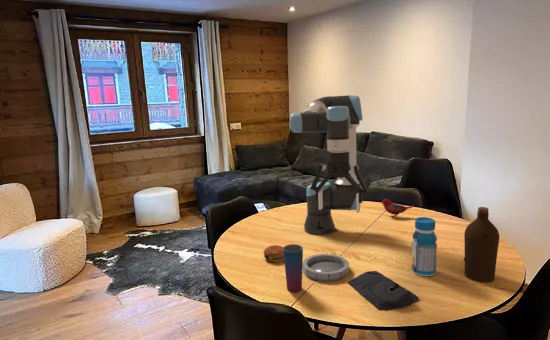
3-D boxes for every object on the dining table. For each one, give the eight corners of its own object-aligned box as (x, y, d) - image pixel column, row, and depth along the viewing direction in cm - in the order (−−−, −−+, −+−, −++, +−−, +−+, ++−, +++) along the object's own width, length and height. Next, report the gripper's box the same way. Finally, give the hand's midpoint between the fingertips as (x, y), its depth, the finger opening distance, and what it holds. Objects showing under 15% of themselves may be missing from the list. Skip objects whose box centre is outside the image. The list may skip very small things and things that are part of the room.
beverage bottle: (424, 279, 132) (426, 225, 129) (406, 270, 140) (407, 218, 136) (441, 273, 136) (443, 220, 132) (422, 264, 144) (424, 214, 140)
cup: (283, 284, 133) (281, 244, 130) (302, 283, 134) (301, 243, 131) (285, 294, 127) (284, 252, 124) (305, 292, 127) (304, 251, 124)
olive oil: (503, 280, 129) (509, 210, 124) (478, 285, 127) (482, 214, 122) (480, 267, 139) (484, 202, 135) (455, 272, 137) (458, 205, 132)
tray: (294, 272, 143) (293, 264, 142) (321, 257, 154) (321, 250, 154) (330, 286, 131) (330, 278, 130) (357, 269, 142) (357, 261, 142)
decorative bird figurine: (380, 216, 202) (380, 198, 201) (414, 216, 200) (415, 198, 198) (381, 218, 200) (381, 199, 198) (415, 218, 197) (416, 199, 195)
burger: (284, 252, 162) (284, 242, 161) (289, 261, 153) (289, 250, 152) (262, 255, 160) (261, 245, 159) (265, 264, 151) (265, 253, 150)
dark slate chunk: (380, 274, 139) (380, 262, 138) (423, 303, 118) (423, 289, 117) (344, 283, 133) (344, 271, 132) (382, 315, 113) (382, 300, 112)
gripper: (300, 152, 132) (302, 210, 136) (373, 153, 122) (373, 216, 126) (307, 149, 139) (309, 205, 143) (376, 150, 129) (376, 209, 133)
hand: (339, 210), depth 134 cm, fingers open, 13 cm apart
